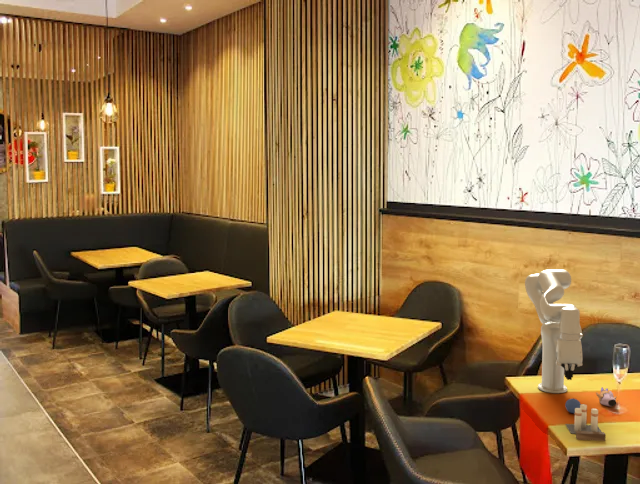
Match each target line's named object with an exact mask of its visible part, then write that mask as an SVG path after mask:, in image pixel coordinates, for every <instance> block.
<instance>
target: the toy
mask: <svg viewBox="0 0 640 484" xmlns="http://www.w3.org/2000/svg"><path fill="white" fill-rule="evenodd" d="M595 395H596V396H597V397H598V400H599V401H598V402H599V404H601V405H602V406H606V407H614V406H616V405H617V396H614V393H613V392H612V390H609V388H607V387H606V388H605V389H604V387H601V388H600V393H599V392H595Z"/></svg>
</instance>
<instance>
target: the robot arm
mask: <svg viewBox="0 0 640 484" xmlns="http://www.w3.org/2000/svg"><path fill="white" fill-rule="evenodd" d="M571 284H572V276H571V273H570V272H569V271H568V270H566V269H544V270H542V271H540V272H539V273H534V274H533V273H532V274H529V275H527V276H526V277H525V280H524V286H525V292H526V294H527V296H528V298H529V299H530V301H531V302H532V304H533V305H534V308H535V311H536V313H537V316H538V319H539V321H540V323H541V324H542V325H541V326H540V335H541V342H542V343H541V344H542V356H541V358H542V359H541V361H542V362H541V382H540V383H538V385H537V388H538V389H539V391H542V392H545V393H550V394H563V393H566V392H567V391H568V387H567V386H566V385H565V384H564V383H565V382H564V381H565V379H566V380H567V381H572V379H573V377H574V370H575V369H577V367H578V368H579V367H582V366H583V348H582V347H583V346H582V341H581V339H582V338H583V337H584V335H583V331H582V327H581V324H580V320H581V319H580V317H581V315H580V314H581V312H580V310H579V308H578V307H576V305H575V304H572V303H556V302H559V300H561V299H562V298H563V297H564V296H565V290H566V289H568V288H569V287H570V286H571ZM568 364H569V365H568Z"/></svg>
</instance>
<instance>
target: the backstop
mask: <svg viewBox="0 0 640 484" xmlns="http://www.w3.org/2000/svg"><path fill="white" fill-rule="evenodd" d="M606 434H607V433H605V432H604V431H602V432H587V431H576V434H575V438H576V440H578V441H579V440H580V441H600V442H603V441H604V442H605V441H606V437H607V436H606Z"/></svg>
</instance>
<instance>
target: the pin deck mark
mask: <svg viewBox="0 0 640 484" xmlns="http://www.w3.org/2000/svg"><path fill="white" fill-rule="evenodd" d="M564 425H565V426H566V429H567V430H568V431H569V433H570V434H571V435H576V432H575V431H574V423H565V424H564ZM581 431H587V432H591V424H586V428H581ZM597 432H603V431H602V430H601V429H600V427H599V426H598V428H597Z"/></svg>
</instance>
